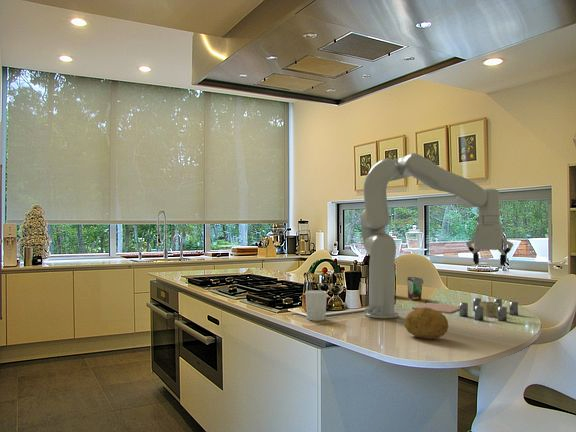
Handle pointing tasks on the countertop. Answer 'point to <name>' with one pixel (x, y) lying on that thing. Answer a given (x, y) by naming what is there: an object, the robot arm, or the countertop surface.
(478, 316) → the standoff field
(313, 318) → the white cup
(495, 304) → the brass nut
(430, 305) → the terracotta mat
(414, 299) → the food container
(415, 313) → the potato
